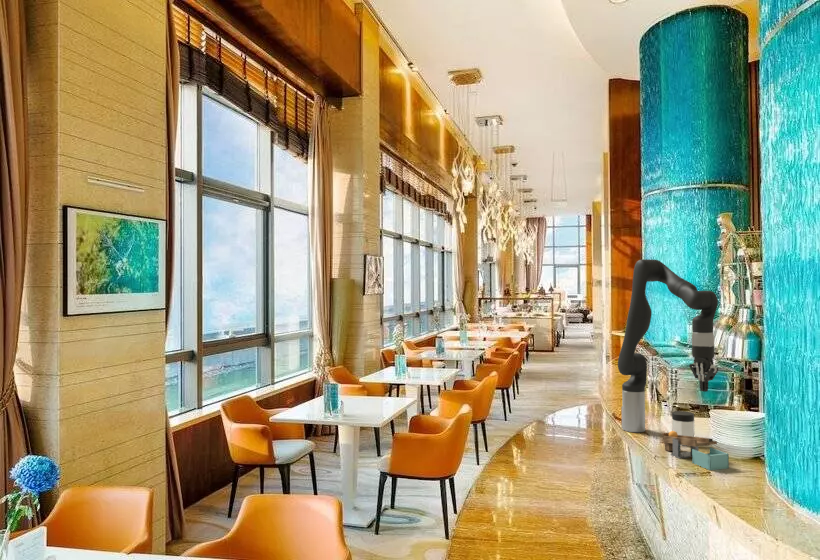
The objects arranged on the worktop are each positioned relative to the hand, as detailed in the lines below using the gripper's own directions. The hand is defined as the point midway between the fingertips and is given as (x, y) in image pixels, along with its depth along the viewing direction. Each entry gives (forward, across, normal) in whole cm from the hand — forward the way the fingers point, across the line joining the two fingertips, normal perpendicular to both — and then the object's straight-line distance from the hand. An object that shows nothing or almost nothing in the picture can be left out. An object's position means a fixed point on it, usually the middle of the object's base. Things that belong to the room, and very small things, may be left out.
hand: (704, 391), depth 228 cm
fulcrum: (+24, -2, -7) cm, 25 cm away
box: (+24, +10, -7) cm, 27 cm away
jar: (+24, -17, +4) cm, 30 cm away
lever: (+22, -2, -5) cm, 23 cm away
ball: (+18, -9, -7) cm, 21 cm away
